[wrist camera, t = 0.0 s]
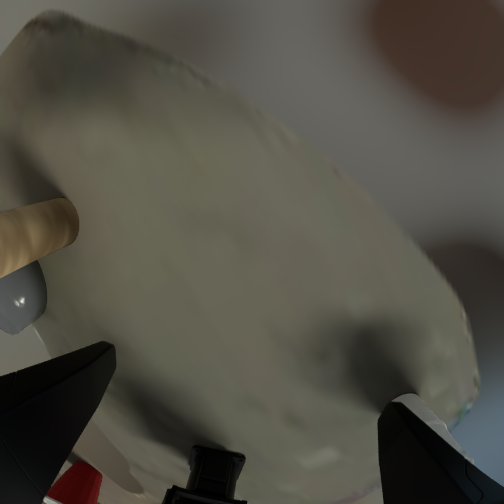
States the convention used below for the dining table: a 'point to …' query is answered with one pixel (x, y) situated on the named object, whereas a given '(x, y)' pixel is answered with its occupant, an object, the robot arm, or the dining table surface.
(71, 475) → the plastic cup
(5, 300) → the grey round bowl
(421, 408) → the soft serve ice cream cone
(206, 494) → the robot arm
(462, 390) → the dining table surface
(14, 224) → the oak pillar
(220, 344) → the dining table surface
